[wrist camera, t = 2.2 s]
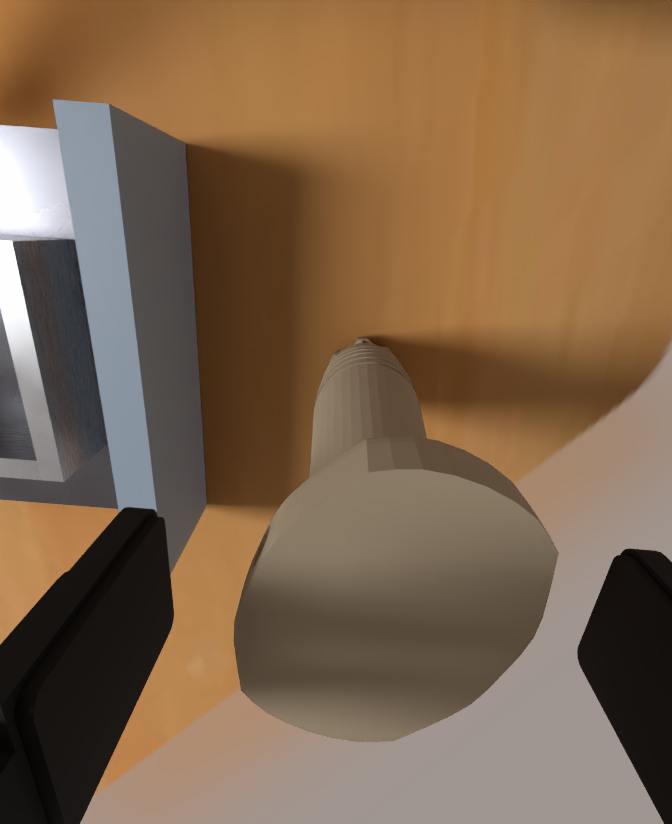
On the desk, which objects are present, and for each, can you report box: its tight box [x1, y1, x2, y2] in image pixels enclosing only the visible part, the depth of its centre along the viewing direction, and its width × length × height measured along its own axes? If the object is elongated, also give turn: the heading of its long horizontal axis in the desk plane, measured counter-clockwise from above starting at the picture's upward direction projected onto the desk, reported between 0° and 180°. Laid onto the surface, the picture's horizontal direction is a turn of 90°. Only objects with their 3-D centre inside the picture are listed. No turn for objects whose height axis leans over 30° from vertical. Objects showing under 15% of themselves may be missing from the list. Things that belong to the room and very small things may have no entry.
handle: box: [234, 337, 558, 742], centre depth 14 cm, size 5×6×15 cm
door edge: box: [52, 99, 207, 574], centre depth 18 cm, size 18×2×6 cm, turn 176°
